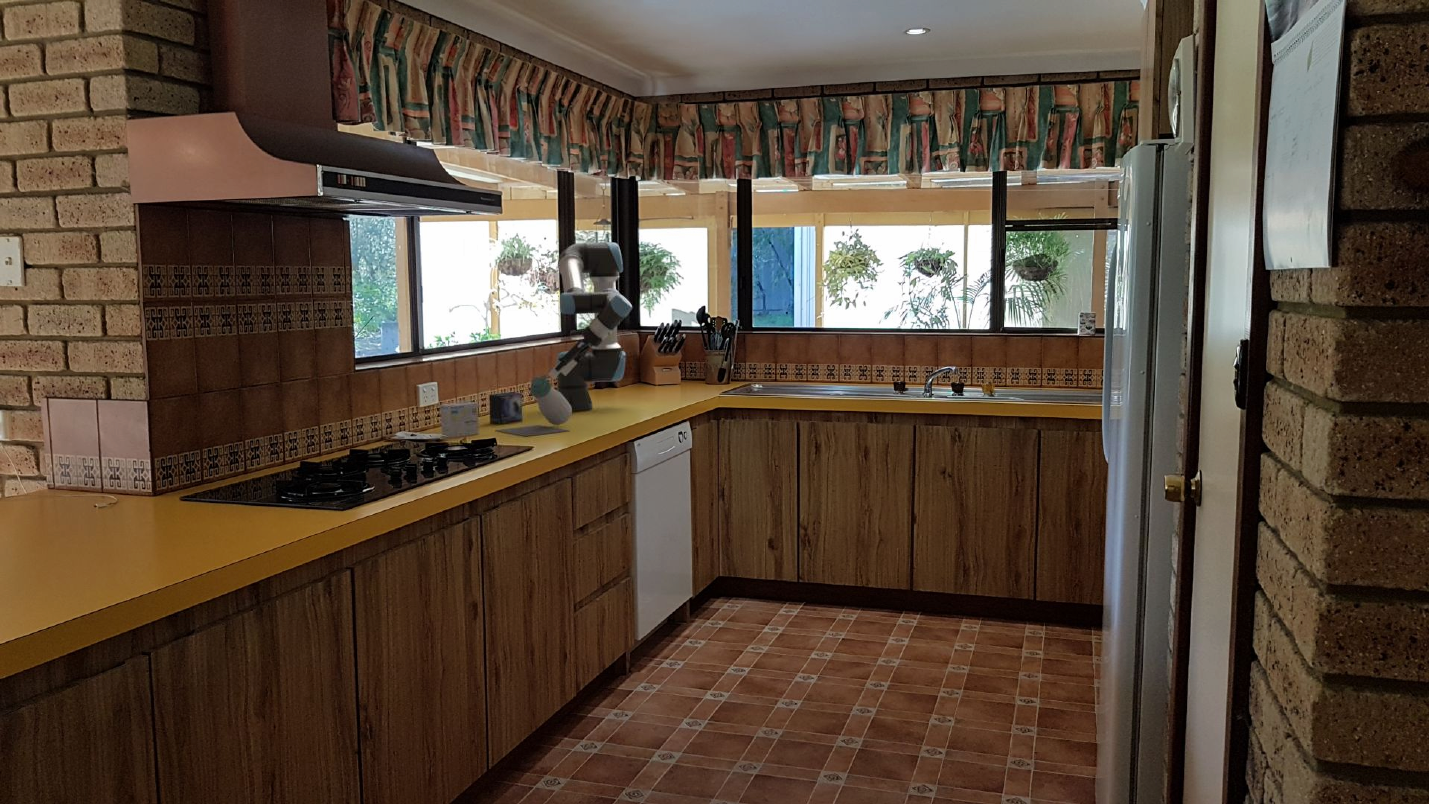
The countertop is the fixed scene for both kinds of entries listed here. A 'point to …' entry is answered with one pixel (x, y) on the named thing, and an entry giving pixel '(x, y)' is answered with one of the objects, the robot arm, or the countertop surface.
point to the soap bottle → (550, 401)
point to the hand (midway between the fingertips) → (556, 375)
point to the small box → (505, 408)
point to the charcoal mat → (532, 430)
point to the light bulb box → (459, 419)
